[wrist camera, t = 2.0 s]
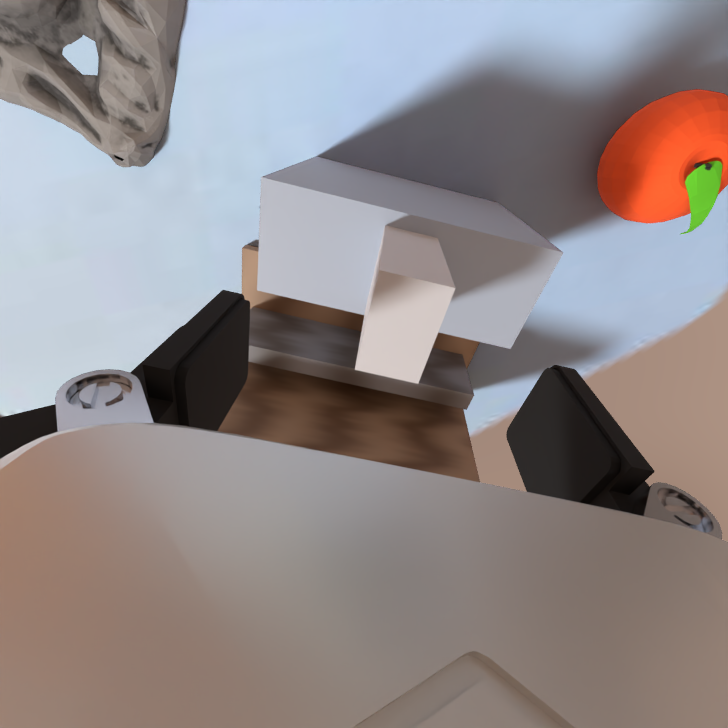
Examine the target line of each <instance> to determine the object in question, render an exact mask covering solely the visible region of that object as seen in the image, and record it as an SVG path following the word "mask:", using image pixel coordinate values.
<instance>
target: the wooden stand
mask: <svg viewBox="0 0 728 728" xmlns="http://www.w3.org/2000/svg"><path fill="white" fill-rule="evenodd" d="M258 251H259V247H255V246H250V245H245V246H244V247H243V248H242V294H243V295H244V298H245V300H248V301H249V302H250V329H249V360H248V376H247V380H246V383H245V385H244V386H243V388H242V390H241V392H240V393H239V395H238V397H237V398H236V400H235V402H234V404H233V405H232V407H231V409H230V410H229V412H228V414H227V415H226V417H225V419H224V421H223V422H222V424H221V426H220V427H219V429H218V431H219V432H225V433H231V434H237V435H243V436H248V437H253V438H258V439H263V440H268V441H273V442H279V443H284V444H289V445H294V446H299V447H304V448H309V449H315V450H320V451H325V452H330V453H335V454H340V455H345V456H350V457H355V458H360V459H365V460H370V461H375V462H380V463H385V464H390V465H395V466H400V467H405V468H410V469H415V470H420V471H425V472H430V473H435V474H440V475H445V476H450V477H455V478H460V479H465V480H470V481H475V482H480V481H479V476H478V472H477V467H476V463H475V459H474V454H473V450H472V446H471V441H470V437H469V433H468V428H467V424H466V420H465V415H464V411H463V409H466V410H467V408H468V406H469V404H470V402H471V400H472V398H473V396H474V393H473V390H472V386H471V383H470V379H469V376H468V372H467V368H468V366H469V364H470V362H471V359H472V357H473V355H474V353H475V351H476V349H477V347H478V345H479V343H480V342H478V341H474V340H469V339H465V338H461V337H456V336H452V335H448V334H443V333H439V332H438V334H437V337H436V339H435V342H434V345H433V347H432V350H431V352H430V355H429V357H428V360H427V362H426V365H425V368H424V370H423V373H422V375H421V378H420V380H419V383H418V384H417V383H412V382H408V381H403V380H399V379H394V378H390V377H385V376H381V375H376V374H372V373H367V372H363V371H358V370H355V365H356V360H357V354H358V348H359V343H360V337H361V331H362V326H363V320H364V315H361V314H357V313H353V312H348V311H344V310H340V309H335V308H331V307H327V306H322V305H318V304H314V303H309V302H305V301H301V300H296V299H292V298H288V297H283V296H279V295H275V294H270V293H266V292H262V291H257V278H258Z"/></svg>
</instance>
